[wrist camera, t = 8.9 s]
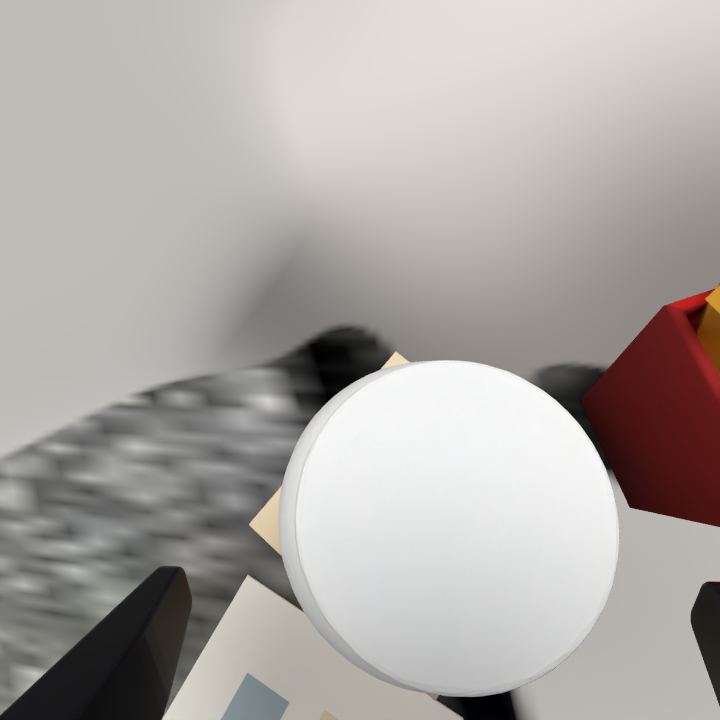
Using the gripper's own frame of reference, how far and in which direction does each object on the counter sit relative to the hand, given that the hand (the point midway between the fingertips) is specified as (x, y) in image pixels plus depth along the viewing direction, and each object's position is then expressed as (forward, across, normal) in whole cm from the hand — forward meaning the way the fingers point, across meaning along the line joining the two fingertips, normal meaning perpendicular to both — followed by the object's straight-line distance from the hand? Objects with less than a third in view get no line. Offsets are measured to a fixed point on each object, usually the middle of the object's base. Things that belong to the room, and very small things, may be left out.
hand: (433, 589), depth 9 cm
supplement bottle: (+9, 0, +7) cm, 11 cm away
